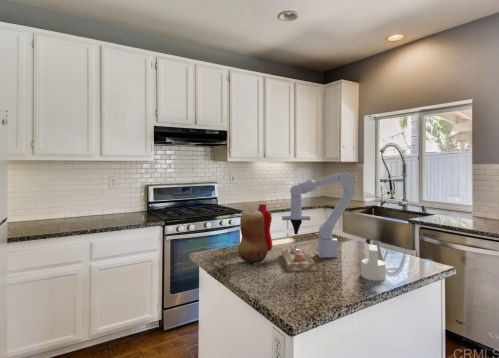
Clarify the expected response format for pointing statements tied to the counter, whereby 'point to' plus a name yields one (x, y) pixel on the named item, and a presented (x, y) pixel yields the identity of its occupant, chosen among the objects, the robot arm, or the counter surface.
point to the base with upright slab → (373, 265)
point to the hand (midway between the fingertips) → (295, 233)
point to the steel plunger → (294, 250)
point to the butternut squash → (252, 237)
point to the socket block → (298, 265)
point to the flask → (379, 250)
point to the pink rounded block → (299, 257)
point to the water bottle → (266, 224)
